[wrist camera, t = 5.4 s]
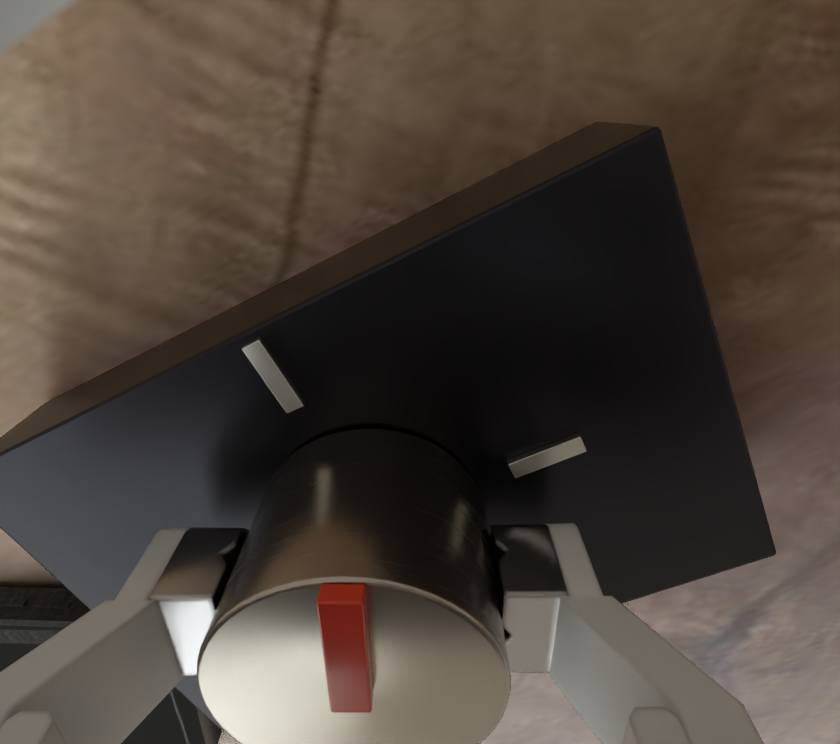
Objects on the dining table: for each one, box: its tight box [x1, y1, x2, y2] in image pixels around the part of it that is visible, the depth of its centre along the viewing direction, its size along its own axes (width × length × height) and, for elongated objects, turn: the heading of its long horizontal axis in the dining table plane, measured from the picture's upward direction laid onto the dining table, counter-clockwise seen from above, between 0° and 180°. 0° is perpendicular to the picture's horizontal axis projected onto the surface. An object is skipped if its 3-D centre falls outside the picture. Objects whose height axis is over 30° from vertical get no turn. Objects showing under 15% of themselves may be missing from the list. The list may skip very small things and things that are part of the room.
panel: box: [0, 122, 776, 729], centre depth 12 cm, size 14×9×3 cm, turn 116°
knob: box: [197, 428, 511, 744], centre depth 9 cm, size 4×4×4 cm
